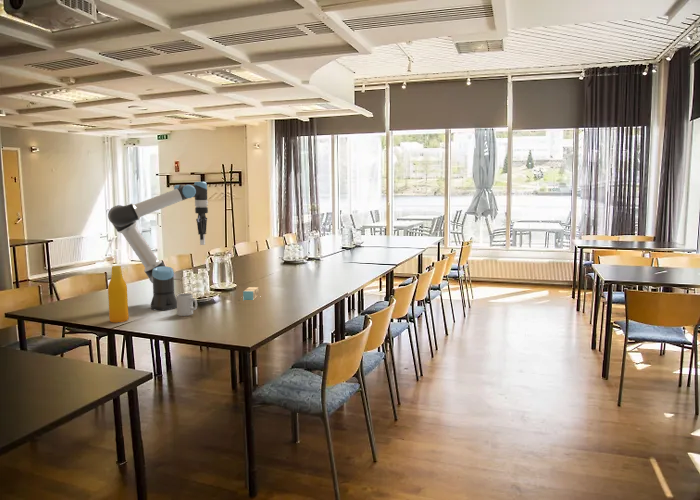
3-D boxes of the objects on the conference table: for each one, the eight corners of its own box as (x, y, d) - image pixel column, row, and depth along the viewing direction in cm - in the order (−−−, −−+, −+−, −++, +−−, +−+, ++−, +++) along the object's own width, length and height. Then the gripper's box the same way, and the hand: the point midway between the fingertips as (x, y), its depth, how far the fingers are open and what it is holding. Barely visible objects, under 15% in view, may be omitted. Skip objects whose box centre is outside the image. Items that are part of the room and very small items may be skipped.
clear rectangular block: (252, 291, 317) (258, 287, 331) (243, 291, 318) (249, 287, 332) (252, 301, 318) (258, 296, 332) (243, 301, 318) (249, 296, 332)
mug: (173, 315, 285) (173, 295, 284) (183, 311, 293) (182, 292, 292) (192, 317, 281) (191, 297, 280) (201, 313, 289) (201, 294, 288)
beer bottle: (127, 322, 271) (124, 267, 267) (108, 323, 268) (105, 268, 264) (129, 317, 279) (127, 264, 276) (111, 319, 277) (108, 265, 273)
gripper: (203, 207, 313) (204, 246, 316) (210, 206, 326) (212, 243, 329) (191, 207, 314) (192, 245, 317) (199, 206, 327) (200, 243, 330)
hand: (202, 244), depth 323 cm, fingers closed
